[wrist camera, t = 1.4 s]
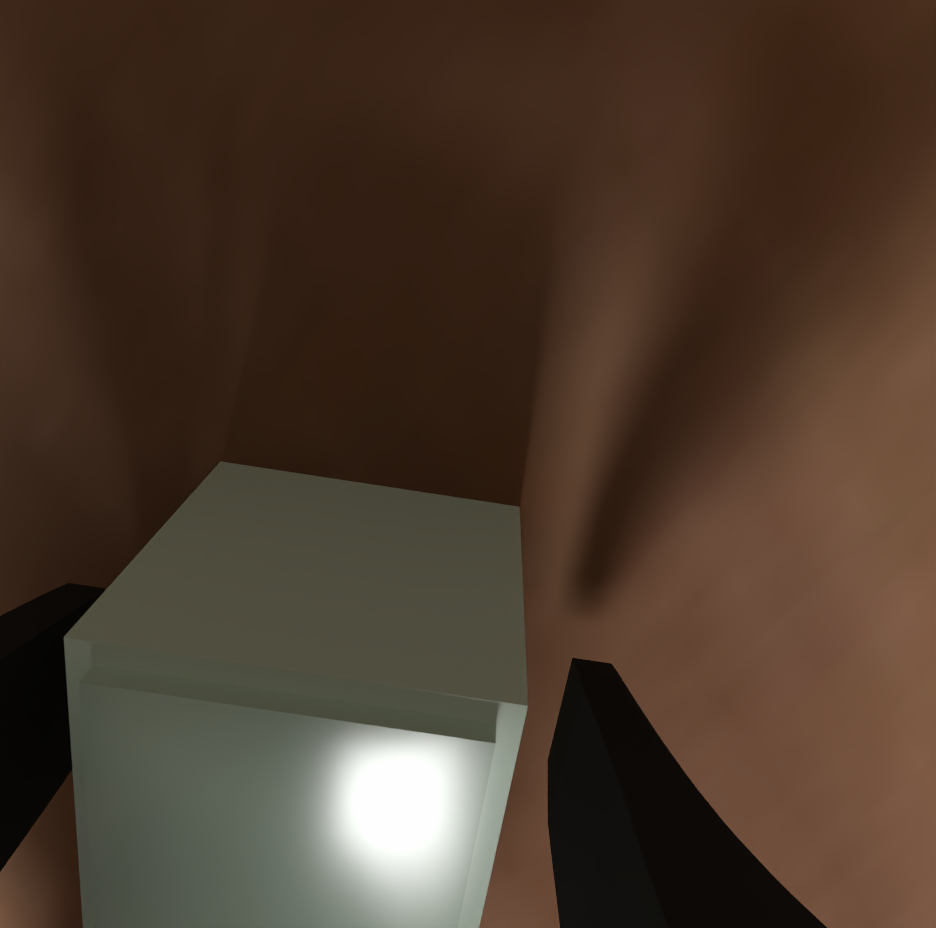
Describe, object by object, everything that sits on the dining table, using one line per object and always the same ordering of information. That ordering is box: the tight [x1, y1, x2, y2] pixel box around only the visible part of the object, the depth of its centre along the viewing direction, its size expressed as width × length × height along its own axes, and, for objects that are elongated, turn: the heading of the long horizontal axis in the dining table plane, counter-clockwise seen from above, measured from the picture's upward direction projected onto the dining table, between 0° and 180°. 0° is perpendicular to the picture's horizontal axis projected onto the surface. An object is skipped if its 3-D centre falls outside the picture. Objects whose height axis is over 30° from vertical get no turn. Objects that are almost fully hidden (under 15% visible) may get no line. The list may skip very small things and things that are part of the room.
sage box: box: [64, 461, 528, 928], centre depth 11 cm, size 5×5×5 cm
